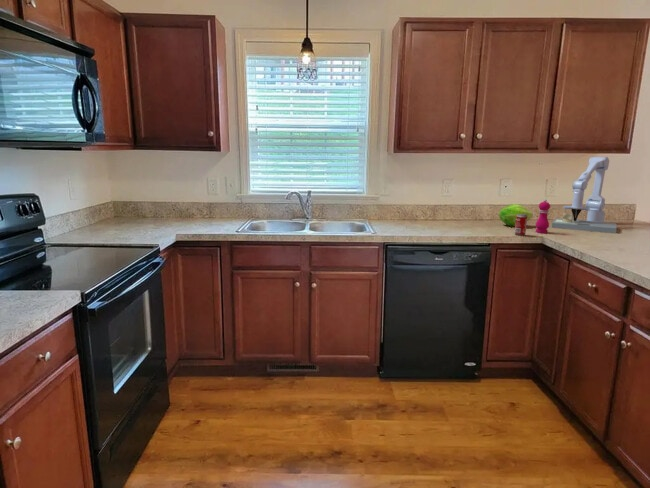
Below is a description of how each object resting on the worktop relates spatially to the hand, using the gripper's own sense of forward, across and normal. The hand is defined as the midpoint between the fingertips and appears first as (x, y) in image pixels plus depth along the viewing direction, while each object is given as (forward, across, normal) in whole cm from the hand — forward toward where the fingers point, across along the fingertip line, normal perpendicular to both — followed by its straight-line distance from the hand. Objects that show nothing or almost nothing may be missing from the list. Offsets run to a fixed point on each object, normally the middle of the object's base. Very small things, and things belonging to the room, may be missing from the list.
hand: (575, 220), depth 273 cm
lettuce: (+4, -32, -19) cm, 38 cm away
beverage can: (+4, -24, -48) cm, 54 cm away
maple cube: (+1, -4, -1) cm, 5 cm away
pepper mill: (+4, -15, -33) cm, 36 cm away
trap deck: (+4, +6, 0) cm, 7 cm away
